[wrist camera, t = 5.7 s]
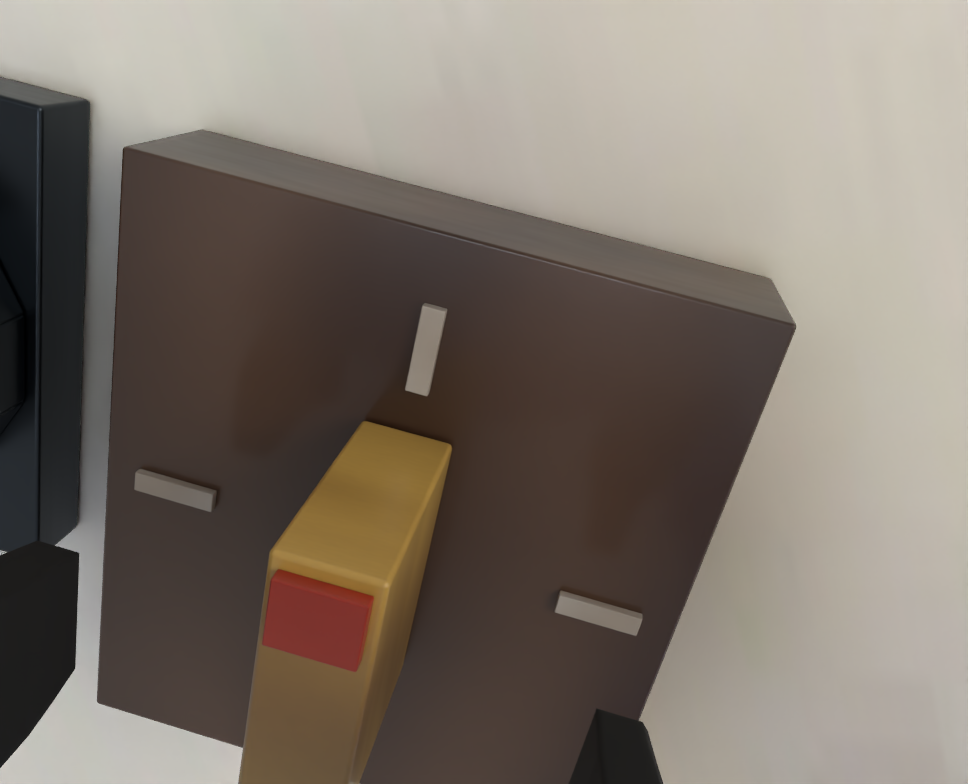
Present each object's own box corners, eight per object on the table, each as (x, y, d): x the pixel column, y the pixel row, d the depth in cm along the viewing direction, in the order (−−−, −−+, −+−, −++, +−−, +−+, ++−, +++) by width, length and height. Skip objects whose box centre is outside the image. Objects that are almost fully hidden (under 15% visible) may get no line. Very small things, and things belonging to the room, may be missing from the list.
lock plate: (772, 278, 14) (800, 329, 12) (592, 754, 19) (585, 861, 16) (200, 128, 15) (115, 147, 12) (159, 624, 19) (90, 709, 17)
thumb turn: (403, 666, 15) (328, 867, 12) (322, 642, 15) (224, 834, 12) (453, 442, 13) (385, 597, 10) (362, 417, 14) (259, 561, 10)
